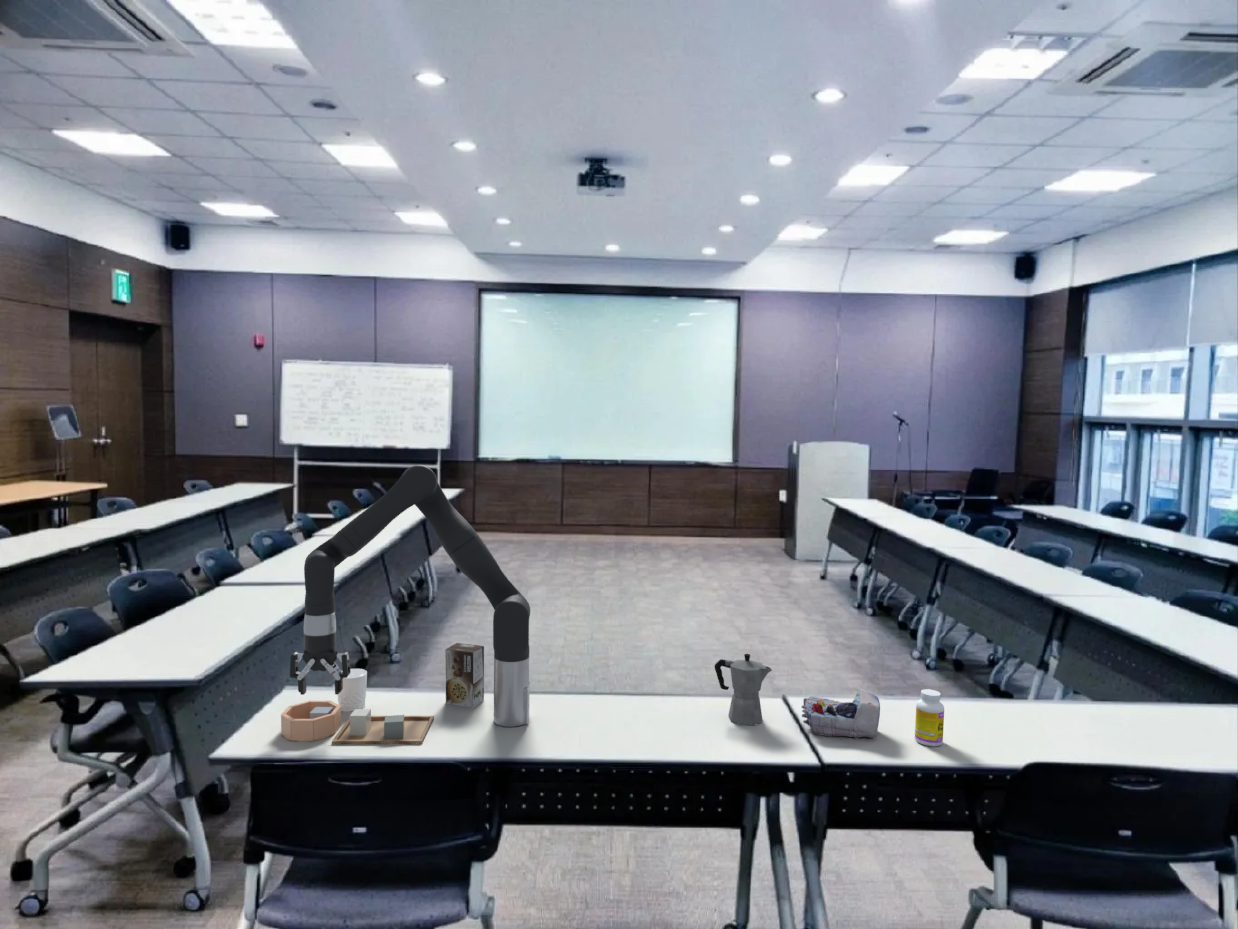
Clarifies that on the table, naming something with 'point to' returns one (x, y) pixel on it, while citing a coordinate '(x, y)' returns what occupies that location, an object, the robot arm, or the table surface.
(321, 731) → the terracotta bowl
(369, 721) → the pale grey cube
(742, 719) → the coffeepot
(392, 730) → the medium grey cube
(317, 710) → the pale blue cube
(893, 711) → the table surface
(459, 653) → the coffee box
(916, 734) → the supplement bottle
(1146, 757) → the table surface
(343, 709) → the white cup
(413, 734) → the walnut tray
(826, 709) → the cell model
